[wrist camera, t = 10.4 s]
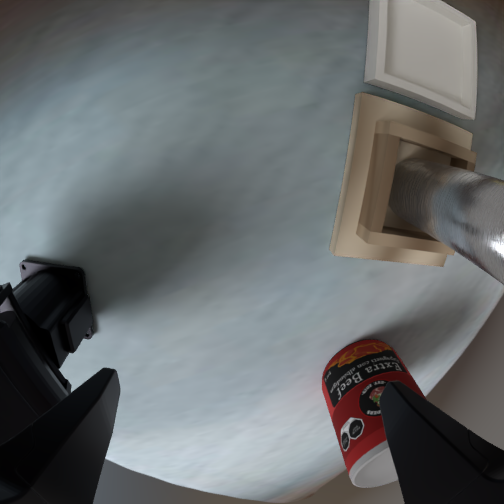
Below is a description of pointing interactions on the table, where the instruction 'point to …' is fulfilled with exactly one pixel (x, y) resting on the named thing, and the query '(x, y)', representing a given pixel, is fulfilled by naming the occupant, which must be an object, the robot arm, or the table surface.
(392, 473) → the canned food
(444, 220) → the cylinder
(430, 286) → the table surface
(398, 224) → the wooden socket base
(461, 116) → the tray
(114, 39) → the table surface
